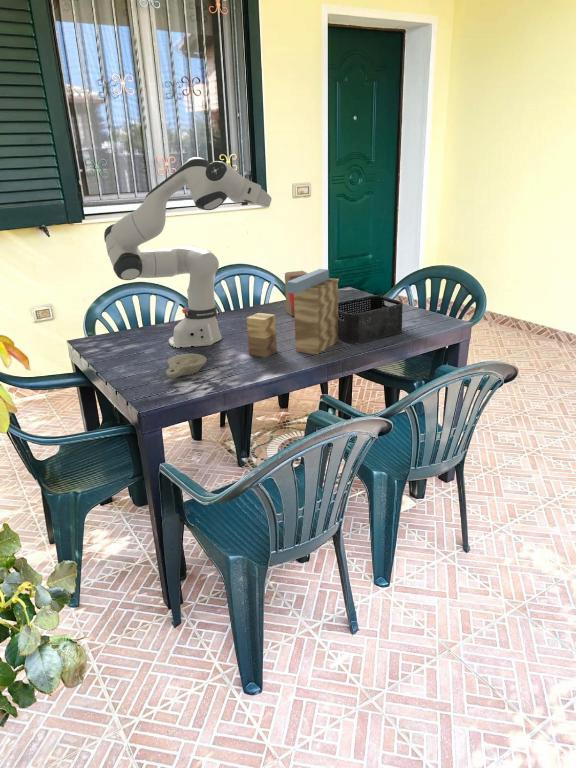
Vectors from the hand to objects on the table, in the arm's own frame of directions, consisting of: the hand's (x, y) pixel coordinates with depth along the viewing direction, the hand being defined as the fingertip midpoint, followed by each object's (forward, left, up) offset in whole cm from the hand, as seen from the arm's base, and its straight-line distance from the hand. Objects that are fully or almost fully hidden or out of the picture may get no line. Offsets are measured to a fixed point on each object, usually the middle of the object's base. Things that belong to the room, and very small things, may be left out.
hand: (253, 202), depth 216 cm
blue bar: (+15, -16, -31) cm, 38 cm away
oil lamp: (-36, -21, -57) cm, 70 cm away
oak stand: (+20, -12, -57) cm, 61 cm away
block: (+31, +39, -57) cm, 76 cm away
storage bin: (+45, -5, -57) cm, 73 cm away
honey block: (-2, -10, -49) cm, 50 cm away
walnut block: (-2, -10, -57) cm, 58 cm away
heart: (+28, +21, -57) cm, 67 cm away
